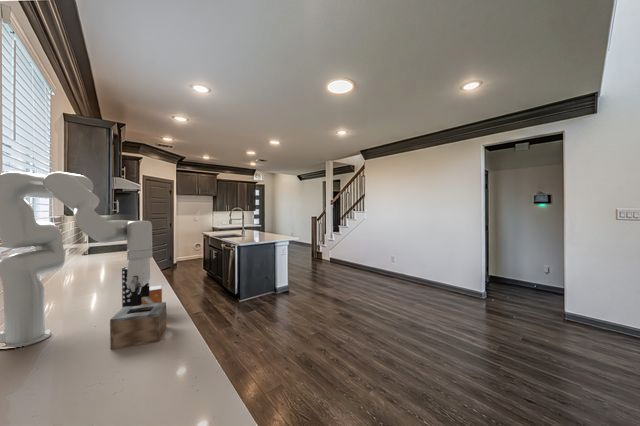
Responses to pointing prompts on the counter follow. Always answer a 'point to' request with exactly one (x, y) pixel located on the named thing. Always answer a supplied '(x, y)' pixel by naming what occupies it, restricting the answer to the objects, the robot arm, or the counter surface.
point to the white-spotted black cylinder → (125, 288)
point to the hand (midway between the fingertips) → (140, 301)
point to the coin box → (138, 325)
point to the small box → (153, 295)
